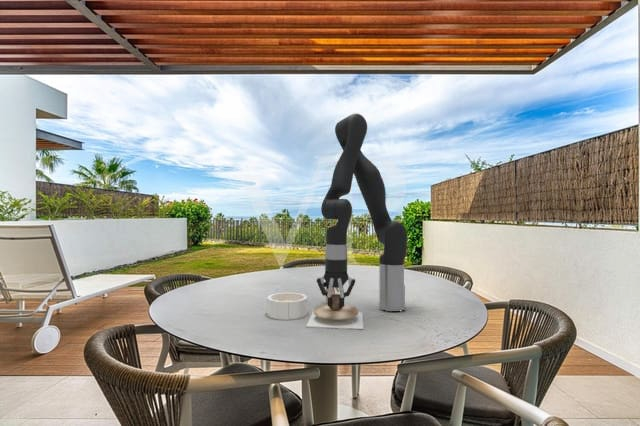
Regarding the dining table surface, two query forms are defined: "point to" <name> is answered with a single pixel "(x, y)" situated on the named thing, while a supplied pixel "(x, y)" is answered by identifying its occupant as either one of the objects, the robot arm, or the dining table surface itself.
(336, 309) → the lid
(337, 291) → the grandmother figurine
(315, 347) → the dining table surface
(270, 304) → the bowl
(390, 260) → the robot arm
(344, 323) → the mat
